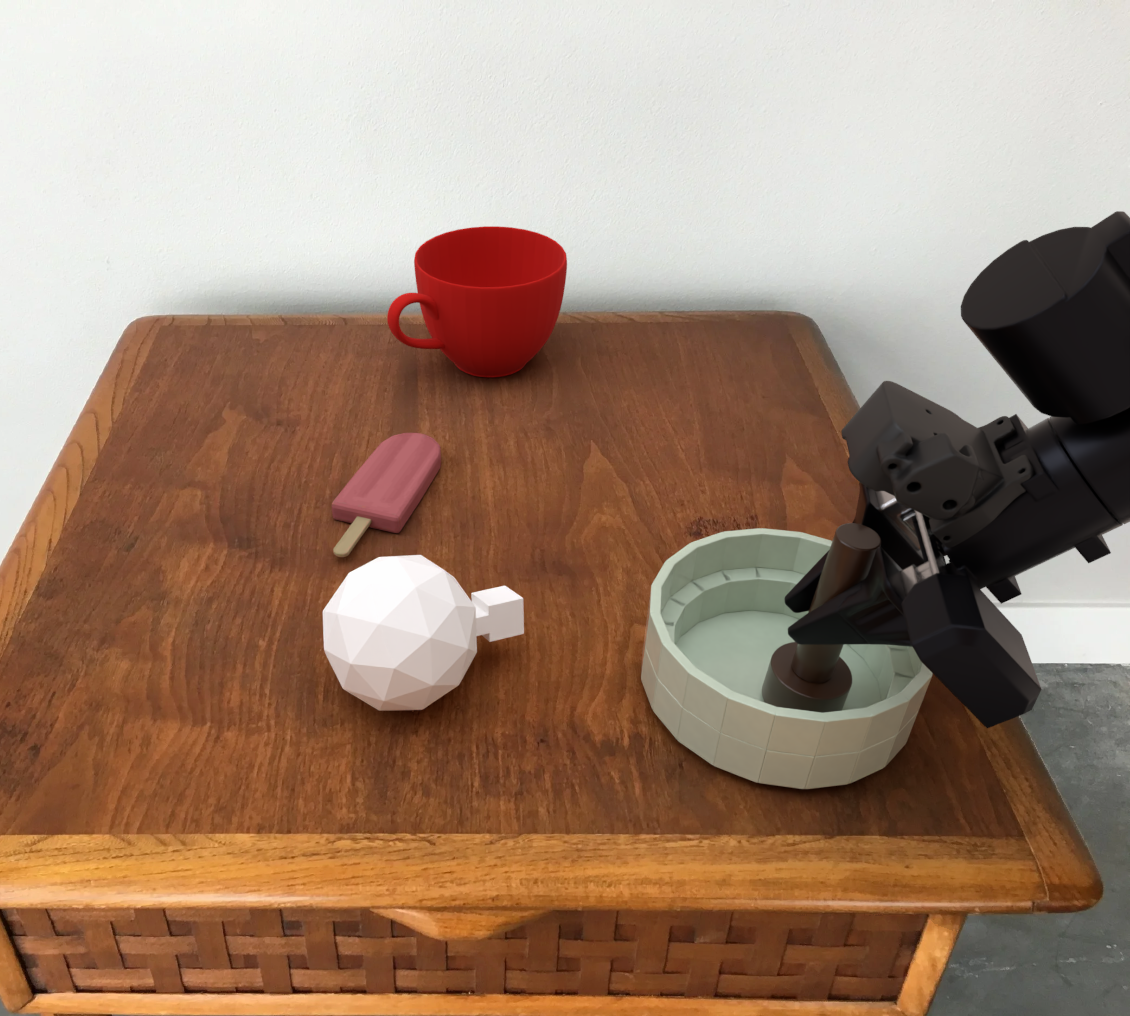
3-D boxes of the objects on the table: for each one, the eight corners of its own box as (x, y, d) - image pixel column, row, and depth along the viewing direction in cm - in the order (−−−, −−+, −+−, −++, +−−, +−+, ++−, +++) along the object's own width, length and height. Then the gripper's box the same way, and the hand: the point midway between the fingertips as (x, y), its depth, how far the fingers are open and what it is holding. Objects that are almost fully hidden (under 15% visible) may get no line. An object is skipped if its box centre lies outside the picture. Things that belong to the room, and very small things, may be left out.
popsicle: (302, 538, 69) (389, 426, 80) (304, 555, 70) (390, 442, 81) (373, 554, 68) (452, 438, 79) (375, 572, 69) (453, 454, 80)
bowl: (888, 615, 64) (912, 542, 61) (930, 815, 52) (964, 739, 49) (645, 588, 67) (654, 516, 63) (634, 773, 55) (644, 698, 51)
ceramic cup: (354, 367, 91) (344, 262, 85) (501, 314, 99) (502, 214, 93) (438, 429, 83) (434, 317, 77) (592, 365, 90) (599, 259, 84)
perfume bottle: (356, 758, 54) (552, 704, 58) (344, 599, 51) (550, 556, 56) (306, 690, 61) (483, 647, 66) (293, 548, 58) (479, 513, 63)
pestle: (809, 664, 60) (865, 502, 53) (857, 718, 57) (924, 553, 49) (746, 681, 59) (795, 518, 51) (791, 738, 55) (851, 572, 48)
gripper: (945, 261, 51) (694, 430, 59) (1046, 475, 36) (694, 657, 45) (1062, 408, 54) (809, 547, 63) (1197, 656, 40) (844, 794, 48)
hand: (790, 621), depth 54 cm, fingers closed on pestle, 2 cm apart
